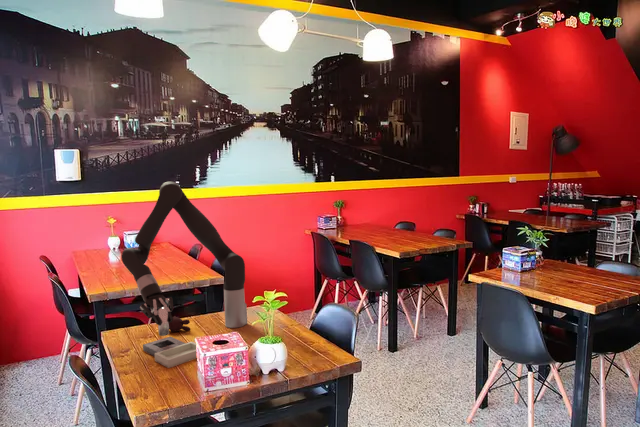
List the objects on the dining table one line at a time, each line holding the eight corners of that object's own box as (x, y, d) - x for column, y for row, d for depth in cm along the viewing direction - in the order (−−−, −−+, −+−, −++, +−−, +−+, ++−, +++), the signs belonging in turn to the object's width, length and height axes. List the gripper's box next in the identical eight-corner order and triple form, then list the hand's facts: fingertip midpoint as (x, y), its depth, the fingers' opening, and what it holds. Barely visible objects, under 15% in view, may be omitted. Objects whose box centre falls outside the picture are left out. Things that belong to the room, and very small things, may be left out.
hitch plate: (170, 342, 199) (170, 336, 198) (185, 349, 190) (185, 343, 190) (143, 350, 190) (142, 344, 190) (157, 358, 182) (157, 352, 182)
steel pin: (166, 331, 193) (164, 305, 192) (171, 333, 190) (169, 307, 189) (156, 334, 190) (155, 307, 189) (161, 336, 187) (160, 309, 186)
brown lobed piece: (153, 320, 208) (186, 323, 207) (161, 311, 215) (192, 314, 214) (155, 333, 211) (187, 337, 209) (162, 324, 218) (193, 327, 216)
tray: (192, 348, 191) (191, 341, 191) (206, 354, 184) (205, 347, 184) (154, 361, 179) (154, 353, 179) (168, 368, 172) (167, 360, 172)
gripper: (134, 286, 188) (151, 322, 181) (167, 279, 198) (184, 313, 191) (129, 297, 192) (146, 332, 185) (162, 289, 202) (179, 323, 195)
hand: (165, 322), depth 188 cm, fingers closed on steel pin, 4 cm apart
